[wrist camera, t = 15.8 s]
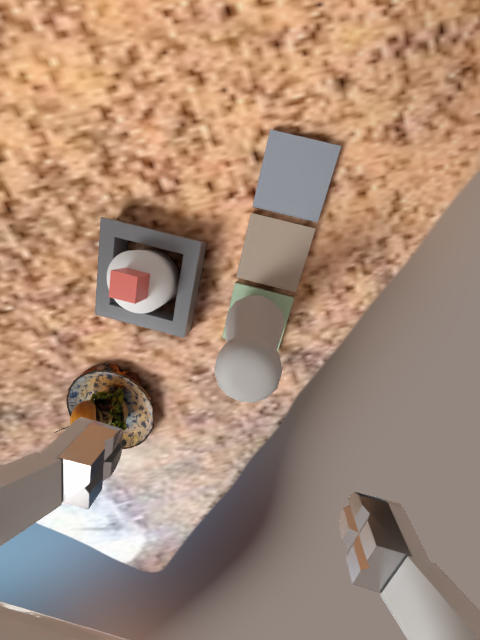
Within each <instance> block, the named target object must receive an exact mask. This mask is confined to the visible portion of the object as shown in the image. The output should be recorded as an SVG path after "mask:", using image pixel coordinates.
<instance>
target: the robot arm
mask: <svg viewBox="0 0 480 640" xmlns="http://www.w3.org/2000/svg"><path fill="white" fill-rule="evenodd" d="M122 438H123V429H121V428H117V427H114V426H111V425H108V424H104V423H101V422H98V421H94V420H90V419H87V418H83V417H81V418H78V419H76V420H75V421H74V422H73V423H72V424H71V425H70V426H69V427H68V428H67V429H66V430H65V431H64V432H62V433H61V434H60V435H59V436H58V437H57V438H56V439H55V440H54V441H53V442H52V443H51V444H50V445H49V446H48V447H47V448H45V449H44V450H43V451H42V452H41V453H37V452H35V453H33V454H30V455H28V456H26V457H23V458H21V459H18V460H16V461H13V462H11V463H8V464H6V465H4V466H1V467H0V546H1V545H3V544H4V543H6V542H7V541H9V540H10V539H12V538H13V537H15V536H16V535H18V534H19V533H21V532H22V531H23V530H25V529H26V528H28V527H29V526H31V525H32V524H34V523H35V522H37V521H38V520H40V519H41V518H43V517H44V516H46V515H47V514H49V513H50V512H52V511H53V510H54V509H56V508H57V507H59V506H60V505H61V504H62V503H65V504H69V505H73V506H77V507H81V508H85V509H89V508H90V506H91V505H92V503H93V502H94V500H95V499H96V497H97V496H98V494H99V493H100V491H101V490H102V484H103V481H104V480H105V479H107V478H109V477H110V476H111V475H112V473H113V472H114V470H115V469H116V466H117V464H118V462H119V460H120V456H121V453H122V446H121V444H120V443H119V442H120V441H121V440H122ZM348 500H349V503H350V505H349V506H347V507H345V508H343V510H342V513H341V515H340V522H339V527H340V534H341V539H342V542H343V543H344V545H345V546H346V548H347V549H348V550H349V551H348V554H347V556H346V560H347V564H348V568H349V572H350V577H351V580H352V584H354V585H356V586H360V587H363V588H366V589H369V590H372V591H375V592H379V593H381V594H380V595H381V597H382V599H383V600H384V602H385V604H386V605H387V607H388V608H389V610H390V612H391V613H392V615H393V616H394V618H395V620H396V621H397V623H398V624H399V626H400V628H401V629H402V631H403V633H404V634H405V636H406V638H407V639H408V640H480V610H479V609H478V608H477V607H476V606H475V605H474V604H473V603H472V602H471V601H470V600H469V599H468V598H467V597H466V595H465V594H464V593H463V592H462V591H461V590H460V589H459V588H458V587H457V586H456V585H455V584H454V583H453V582H452V580H451V579H450V578H449V577H448V576H447V575H446V574H445V573H444V572H443V571H442V570H441V569H440V568H439V567H438V565H437V564H436V563H432V562H430V560H429V558H428V556H427V554H426V552H425V550H424V548H423V546H422V544H421V542H420V540H419V538H418V536H417V534H416V532H415V530H414V528H413V526H412V524H411V522H410V520H409V518H408V516H407V514H406V512H405V510H404V508H403V507H402V506H401V504H399V503H395V502H392V501H388V500H383V499H381V498H377V497H373V496H369V495H365V494H361V493H358V492H354V493H352V494H351V495H350V497H349V499H348ZM0 640H128V639H124V638H121V637H117V636H114V635H111V634H108V633H104V632H101V631H97V630H94V629H91V628H87V627H84V626H80V625H77V624H74V623H71V622H67V621H64V620H61V619H57V618H54V617H51V616H47V615H44V614H40V613H37V612H34V611H30V610H27V609H24V608H20V607H17V606H13V605H10V604H7V603H4V602H0Z"/></svg>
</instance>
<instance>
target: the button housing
mask: <svg viewBox="0 0 480 640" xmlns="http://www.w3.org/2000/svg"><path fill="white" fill-rule="evenodd" d="M128 240H129V241H133V242H137V243H141V244H145V245H149V246H153V247H157V248H160V249H164V250H168V251H172V252H176V253H180V254H183V261H182V267H181V273H180V279H179V285H178V292H177V298H176V304H175V310H174V313H171V312H168V311H164V310H160V309H155V310H153V311H151V312H149V313H142V314H140V313H133V312H130V311H128V310H126V309H124V308H123V307H121V306H120V305H119V304H118V303H117V302H116V301H115V300H114V298H110V297H109V289H108V285H107V270H108V267H109V265H110V263H111V261H112V260H113V259H114V258H115V257H116V256H117V255H119V254H120V253H122V252H125V251H127V243H128ZM206 247H207V242H204V241H200V240H196V239H192V238H188V237H184V236H180V235H176V234H172V233H168V232H164V231H160V230H156V229H152V228H148V227H144V226H140V225H136V224H132V223H128V222H124V221H120V220H116V219H110V218H103V217H101V223H100V240H99V256H98V273H97V290H96V306H95V314H96V315H100V316H103V317H107V318H111V319H115V320H118V321H122V322H126V323H130V324H134V325H137V326H141V327H145V328H149V329H153V330H156V331H160V332H164V333H168V334H172V335H175V336H179V337H183V338H184V337H185V336H186V335H187V334H188V333H189V332H190V331H191V327H192V322H193V316H194V311H195V306H196V300H197V295H198V290H199V284H200V279H201V274H202V268H203V263H204V258H205V252H206Z"/></svg>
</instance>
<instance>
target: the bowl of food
mask: <svg viewBox="0 0 480 640" xmlns="http://www.w3.org/2000/svg"><path fill="white" fill-rule="evenodd" d="M142 380H143V378H142V379H140V377H139V375H138V373H137V374H136V373H133V372H130V370H128V371H127V372H126V371H123V372H120V371H119V369H118V367H117V366H116V365H114V364H109V365H106V364H103V365H100V366H95V367H93V368H91V369H88V370H86V371H85V372H84V373H83V374H82V375H80V376H79V377H78V378H77V379H76V380H74V381H73V383H72V385H71V386H70V388H69V389H68V394H67V408H68V411H69V414H70V417H71V418H70V423H71V424H72V423H73V422H74V421H75V420H76V419H78V418H81V417H83V418H87V419H90V420H94V421H98V422H101V423H104V424H108V425H111V426H114V427H117V428H121V429H123V438H122V440H121V441H120V442H119V443H120V444H121V446H122V449H127V448H132V447H134V446H137V445H139V444H141V443H142V442H143V441H145V440H146V439H147V437H148V436H149V434H150V432H151V430H152V429H153V426H154V422H153V421H154V420H153V406H152V405H151V401H150V399H151V398H150V396H149V395H148V393H147V392H146V391H145V390H144V389H143V387H142V386H141V382H142ZM68 427H69V426H68ZM68 427H66V428H68ZM63 429H65V428H63ZM61 430H62V429H61ZM59 431H60V430H59ZM56 432H58V431H56ZM54 433H55V432H54Z"/></svg>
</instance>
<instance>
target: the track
mask: <svg viewBox="0 0 480 640" xmlns="http://www.w3.org/2000/svg"><path fill="white" fill-rule="evenodd" d="M340 149H341V146H340V145H335V144H331V143H327V142H322V141H318V140H314V139H309V138H305V137H301V136H297V135H292V134H288V133H284V132H279V131H275V130H271V129H270V133H269V137H268V142H267V146H266V150H265V155H264V159H263V163H262V168H261V172H260V176H259V181H258V185H257V189H256V194H255V198H254V202H253V207H255V208H259V209H263V210H267V211H271V212H275V213H279V214H284V215H288V216H292V217H296V218H300V219H304V220H308V221H312V222H316V223H317V222H318V220H319V217H320V213H321V210H322V207H323V204H324V201H325V197H326V194H327V191H328V188H329V184H330V181H331V178H332V175H333V171H334V168H335V165H336V162H337V159H338V155H339V152H340ZM315 230H316V229H315V228H311V227H307V226H303V225H299V224H295V223H291V222H287V221H283V220H278V219H274V218H270V217H266V216H262V215H258V214H254V213H251V215H250V220H249V224H248V228H247V233H246V237H245V241H244V246H243V250H242V255H241V259H240V263H239V268H238V272H237V276H236V277H237V278H241V279H245V280H249V281H252V282H256V283H260V284H264V285H268V286H272V287H276V288H280V289H284V290H288V291H292V292H296V291H297V288H298V285H299V281H300V278H301V275H302V272H303V268H304V265H305V262H306V259H307V256H308V252H309V249H310V246H311V243H312V239H313V236H314V233H315ZM261 295H262V296H264V297H266V298H268V299H270V300H271V301H273V302H274V303H275V304H276V305H277V306H278V308H279V309H280V310H281V311H282V313H283V319H284V329H283V332H282V336H283V333H284V330H285V327H286V323H287V320H288V317H289V314H290V311H291V307H292V304H293V301H294V297H292V296H288V295H284V294H280V293H276V292H273V291H269V290H265V289H261V288H257V287H253V286H249V285H245V284H241V283H237V282H235V285H234V289H233V294H232V298H231V302H230V307H229V309H230V308H231V307H232V306H233V304H234V303H235V302H236V301H237V300H240V299H242V298H244V297H247V296H261ZM282 336H281V339H280V342H279V345H278V347H277V352H278V349H279V346H280V343H281V340H282ZM222 338H224V339H226V327H225V328H224V333H223V337H222Z"/></svg>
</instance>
